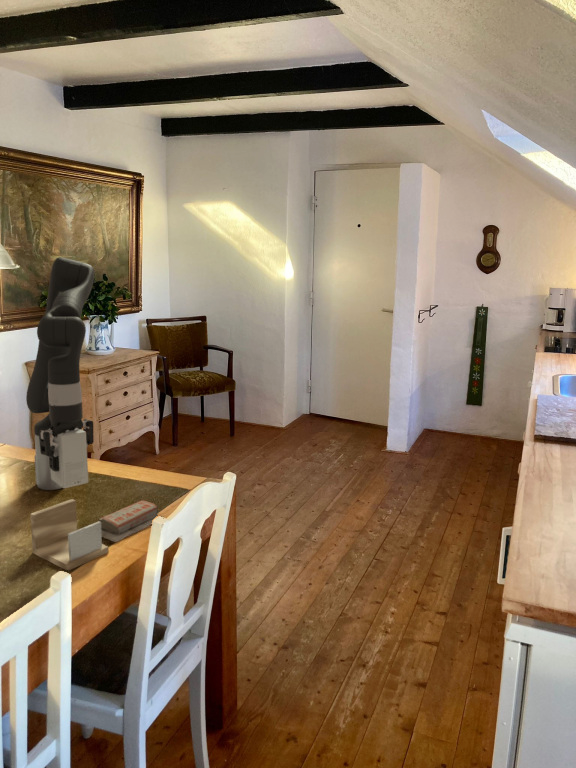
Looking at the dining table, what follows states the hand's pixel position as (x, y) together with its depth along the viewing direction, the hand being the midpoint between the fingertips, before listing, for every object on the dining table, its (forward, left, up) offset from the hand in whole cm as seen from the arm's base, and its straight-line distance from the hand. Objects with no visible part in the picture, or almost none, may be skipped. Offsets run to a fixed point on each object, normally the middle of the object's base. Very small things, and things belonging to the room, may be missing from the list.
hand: (68, 466), depth 158 cm
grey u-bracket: (0, -1, -22) cm, 22 cm away
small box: (0, 0, -4) cm, 4 cm away
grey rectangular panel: (+6, -1, -21) cm, 22 cm away
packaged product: (-1, +19, -23) cm, 30 cm away
